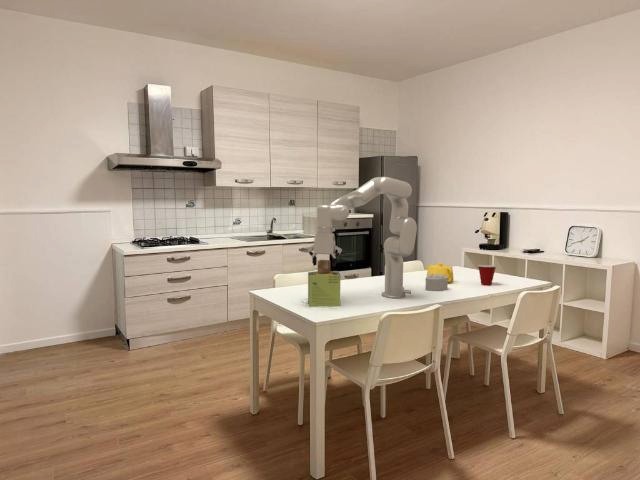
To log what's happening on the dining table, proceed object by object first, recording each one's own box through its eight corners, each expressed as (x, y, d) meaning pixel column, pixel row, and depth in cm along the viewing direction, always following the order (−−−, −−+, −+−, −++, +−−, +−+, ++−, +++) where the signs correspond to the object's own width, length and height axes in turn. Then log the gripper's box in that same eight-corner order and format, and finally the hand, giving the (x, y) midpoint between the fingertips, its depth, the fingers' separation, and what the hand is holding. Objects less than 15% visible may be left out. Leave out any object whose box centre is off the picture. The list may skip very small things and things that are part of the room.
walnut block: (330, 272, 217) (330, 260, 216) (327, 273, 212) (327, 261, 212) (320, 271, 218) (320, 259, 218) (317, 273, 214) (317, 261, 213)
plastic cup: (491, 282, 274) (492, 263, 272) (498, 286, 263) (499, 266, 262) (473, 282, 273) (474, 263, 272) (480, 286, 263) (481, 266, 261)
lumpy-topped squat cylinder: (449, 289, 253) (450, 274, 252) (435, 292, 245) (436, 277, 244) (435, 286, 261) (435, 272, 260) (420, 289, 253) (421, 274, 252)
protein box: (340, 306, 212) (341, 274, 211) (308, 306, 211) (308, 274, 210) (338, 301, 223) (338, 270, 221) (307, 301, 221) (307, 271, 220)
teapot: (419, 279, 282) (420, 261, 281) (433, 278, 289) (433, 260, 288) (444, 285, 266) (445, 265, 265) (458, 283, 273) (458, 264, 271)
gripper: (343, 230, 214) (343, 265, 216) (310, 229, 220) (310, 263, 221) (339, 231, 207) (339, 267, 209) (305, 230, 212) (305, 265, 214)
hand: (324, 265), depth 215 cm, fingers open, 9 cm apart
